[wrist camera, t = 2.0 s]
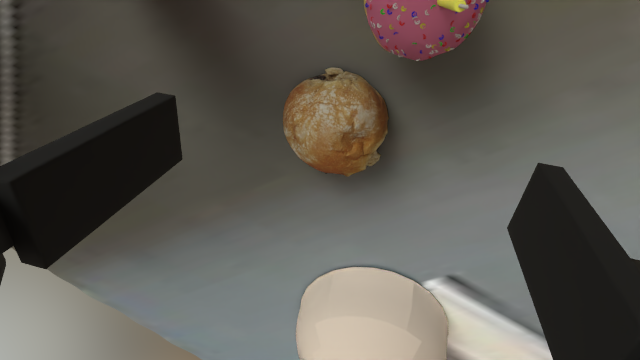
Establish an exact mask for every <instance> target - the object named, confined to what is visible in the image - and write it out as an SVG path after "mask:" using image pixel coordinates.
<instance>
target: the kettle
mask: <svg viewBox="0 0 640 360" xmlns="http://www.w3.org/2000/svg"><path fill="white" fill-rule="evenodd" d="M447 336H448V320H447V317H446V315H445V313H444V310H443V308H442V306H441V305H440V304H439V302H438V301H437V300H436V299H435V298H434V296H433V295H432V294H431V293H430V292H429V291H427V290H426V289H425V288H423V287H422V286H420V285H419V284H418V283H416V282H415V281H413V280H411V279H408V278H406V277H404V276H401V275H399V274H397V273H395V272H391V271H386V270H382V269H378V268H371V267H350V268H344V269H339V270H333V271H331V272H329V273H327V274H325V275H322V276H320V277H318V278H317V279H316V280H315V281H314V282H313V283H311V284H310V285H309V286H308V287H307V289H306V291H305V293H304V295H303V297H302V299H301V306H300V311H299V315H298V320H297V326H296V341H297V349H298V355H299V358H300V360H447Z"/></svg>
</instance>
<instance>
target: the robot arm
mask: <svg viewBox="0 0 640 360" xmlns="http://www.w3.org/2000/svg"><path fill="white" fill-rule="evenodd" d="M181 160H182V151H181V142H180V133H179V125H178V116H177V107H176V98H175V96H173V95H168V94H162V93H155V94H153V95H151V96H149V97H146V98H144V99H142V100H140V101H138V102H136V103H134V104H132V105H129V106H127V107H125V108H123V109H121V110H119V111H117V112H115V113H112V114H110V115H108V116H106V117H104V118H102V119H100V120H98V121H95V122H93V123H91V124H89V125H87V126H85V127H83V128H81V129H78V130H76V131H74V132H72V133H70V134H68V135H66V136H64V137H61V138H59V139H57V140H55V141H53V142H51V143H49V144H47V145H44V146H42V147H40V148H38V149H36V150H34V151H32V152H30V153H27V154H25V155H23V156H21V157H19V158H17V159H15V160H13V161H10V162H8V163H6V164H4V165H2V166H0V285H1V281H2V277H3V273H4V270H5V267H6V261H5V258H4V256H3V254H2V253H3V252H5V251H6V250H8V249H9V248H11V247H12V246H14V247H15V249H16V252H17V254H18V256H19V258H20V260H21V262H22V263H25V264H29V265H32V266H36V267H40V268H43V269H47V268H48V267H49V266H50V265H52V264H53V263H54V262H55V261H57V260H58V259H59V258H60V257H62V256H63V255H64V254H65V253H67V252H68V251H69V250H70V249H72V248H73V247H74V246H75V245H77V244H78V243H79V242H80V241H82V240H83V239H84V238H85V237H86V236H88V235H89V234H90V233H91V232H93V231H94V230H95V229H96V228H98V227H99V226H100V225H101V224H103V223H104V222H105V221H106V220H108V219H109V218H110V217H111V216H113V215H114V214H115V213H116V212H118V211H119V210H120V209H121V208H123V207H124V206H125V205H126V204H127V203H129V202H130V201H131V200H132V199H134V198H135V197H136V196H137V195H139V194H140V193H141V192H142V191H144V190H145V189H146V188H147V187H149V186H150V185H151V184H152V183H154V182H155V181H156V180H157V179H159V178H160V177H161V176H162V175H163V174H165V173H166V172H167V171H168V170H170V169H171V168H172V167H173V166H175V165H176V164H177V163H178V162H180V161H181ZM507 229H508V232H509V235H510V238H511V240H512V243H513V246H514V249H515V252H516V255H517V258H518V260H519V263H520V266H521V269H522V272H523V275H524V278H525V280H526V283H527V286H528V289H529V292H530V295H531V298H532V300H533V303H534V306H535V309H536V312H537V315H538V318H539V320H540V323H541V326H542V329H543V332H544V335H545V338H546V341H547V343H548V346H549V349H550V352H551V355H552V358H553V360H640V260H635V259H631V258H630V257H629V256H628V255H627V253H626V252H625V251H624V249H623V248H622V247H621V245H620V244H619V243H618V241H617V240H616V238H615V237H614V236H613V234H612V233H611V232H610V230H609V229H608V228H607V226H606V225H605V224H604V222H603V221H602V220H601V218H600V217H599V215H598V214H597V213H596V211H595V210H594V209H593V207H592V206H591V205H590V203H589V202H588V201H587V199H586V198H585V197H584V195H583V194H582V193H581V191H580V190H579V188H578V187H577V186H576V184H575V183H574V182H573V180H572V179H571V178H570V176H569V175H568V174H567V172H566V171H565V170H564V168H563V167H558V166H553V165H547V164H542V163H538V164H537V166H536V168H535V170H534V173H533V175H532V177H531V179H530V181H529V183H528V185H527V187H526V189H525V191H524V194H523V196H522V198H521V200H520V202H519V204H518V206H517V208H516V210H515V213H514V215H513V217H512V219H511V221H510V223H509V225H508V227H507Z"/></svg>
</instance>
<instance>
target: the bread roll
mask: <svg viewBox="0 0 640 360" xmlns="http://www.w3.org/2000/svg"><path fill="white" fill-rule="evenodd" d="M325 72H326V74H322V75H319V76H315V77H313V78H311V79H310V78H309V79H307V80H305V81H303V82H302V83H300V84H299V85H297V86H296V87H295V88H294V89H293V90H292V91H291V93H290V94H289V96H288V98H287V100H286V103H285V106H284V112H283V126H284V133H285V136H286V138H287V141H288V142H289V144H290V146H291V148H292V149H293V150H294V152H295V153H296V155H297V156H298V157H299V158H300V159H301V160H303V161H304V162H305V163H307V164H308V165H310V166H312V167H313V168H315V169H317V170H319V171H322V172H325V173H335V174H343V175H345V176H350V175H352V174H354V173H357V172H360V171H362V170H365V169H366V166H372V165H374V164H375V163H376V162H377V161H379V158H380V155H381V154H379V153H377V148H378V147H379V146H380V145H381V143H382V142H383V141H384V139H385V136H386V134H387V133H388V126H387V121H388V119H389V117H388V111H387V107H386V104H385V101H384V99H383V98H382V97H381V95H380V94H379V93H378V92H377V90H376V89H374V88H373V87H372V86H371V85H370V84H369V83H368V82H367V81H366V80H365V79H363V78H362V77H361V76H359V75H357V74H353V73H350V72H347V71H345V72H343V70H342V69H341V68H328V69H326V70H325Z"/></svg>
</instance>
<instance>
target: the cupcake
mask: <svg viewBox="0 0 640 360" xmlns="http://www.w3.org/2000/svg"><path fill="white" fill-rule="evenodd" d="M487 2H489V0H364V8H365V12H366V16H367V19H368V22H369V25H370V28H371V30H372V33H373V35H374V37H375V39H376V40H377V42H378V43H379V45H380V46H381V47H382V48H383V49H385V50H386V51H388V52H391V53H392V54H396V55H398V57H400V56H401V57H400V58H402V57H405V58H409V59H412V60H416V61H422V60H426V59H429V58H432V57H434V56H436V55H439V54H442V53H445V52H448V51H450V50H454V49H455V48H456V47H457V46H458V45H460V44H461V43H462V42H463V41H464V40H465V39H466V38H467V37H468V36H469V35H470V33H471V32H472V31H473V29H474V28H475V26H476V25H477V23H478V22H479V21H480V18H481V15H482V13H483V11H484V8H485V5H486V3H487Z"/></svg>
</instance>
